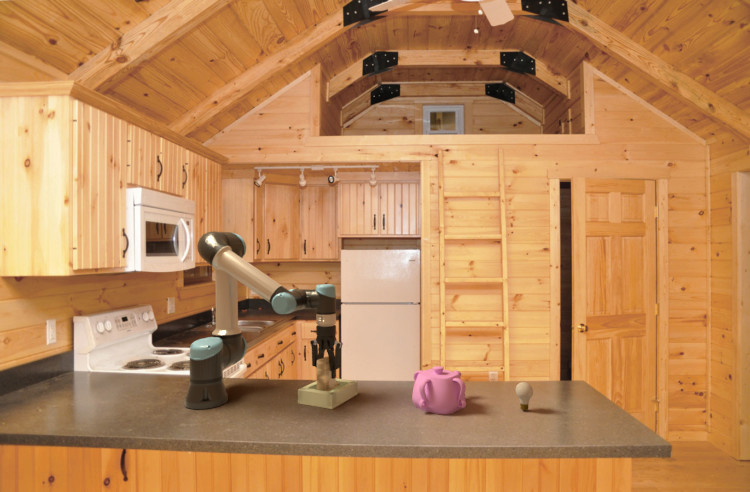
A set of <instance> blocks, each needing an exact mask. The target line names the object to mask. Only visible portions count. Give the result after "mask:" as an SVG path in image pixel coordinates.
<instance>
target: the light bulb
mask: <svg viewBox="0 0 750 492" xmlns="http://www.w3.org/2000/svg"><path fill="white" fill-rule="evenodd" d="M515 394H516V396H517V397H518V399H519V404H520V410H522V411H523V412H526V411H528V410H529V404H530V400H531V398H532V397H533V395H534V389H533V387H532V385H531V384H530V383H528V382H525V381H521V382H519V383H517V385H516V386H515Z"/></svg>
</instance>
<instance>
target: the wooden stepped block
mask: <svg viewBox="0 0 750 492" xmlns="http://www.w3.org/2000/svg"><path fill="white" fill-rule="evenodd" d="M330 369H331V368H330V363H329V357H328V355H327V356H324V358H321V359H319V360H317V368H316V381H317V390H322V391H328V392H330V391H332V390H334V389H336V388H337V387H339V386H340V382H336V378H337V377H336V378H334V387H332V388H329V370H330Z"/></svg>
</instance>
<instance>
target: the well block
mask: <svg viewBox="0 0 750 492" xmlns="http://www.w3.org/2000/svg"><path fill="white" fill-rule="evenodd" d="M358 381H359V380H357V381H356V380H351V379H344V378H337V377H336V382H340V386H339V387H337V388H336V389H334V390H332V391H330V392H328V391H322V390H317V380H315V381H314V382H311V383H310V384H307V385H305V386H302V387H301V388H299V389H297V404H301V405H306V406H312V407H318V408H324V409H328V410H333V409H335V408H337V407H339V406H340V405H342V404H344V403H345V402H347V401H348V400H350V399H352V398H354V397H355V396H357V395H358V393H359V391H358V389H359V385H358Z"/></svg>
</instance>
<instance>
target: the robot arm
mask: <svg viewBox="0 0 750 492" xmlns="http://www.w3.org/2000/svg"><path fill="white" fill-rule="evenodd" d="M196 247H197V248H196V249H197V252H198V254H199V256H200V257H201V258H202V259H203V260H204V262H206V263H208V264H209V265H210V266H211V267H212V268H213V269H214V271H215V272H214V273H215V277H214V278H215V329H214V330H213V331H212V332H211V336H208V337H204V338H199V339H197V340H194V341H193V342H192V343H191V344H190V345H189V346H190V347H189V353H188V357H189V385H188V389H187V392H186V396H185V397H184V406H185V408H188V409H191V410H205V409H206V410H207V409H213V408H217V407H219V406H220V407H221V406H222V405H225V404H226V403H227V402H228V401H229V399H228V397H229V396H228V392H227V390H226V386H225V384H224V380H223V379H224V378H223V375H224V374H223V373H224V368H227V367H229V366H232V365H235V364H237V363H238V362H240V361H241V360H242V359H243V358H244V357H245V355H246V354H247V350H248V343H247V340H246V339H245V338H244V336H243V332H242V329H240V327H239V315H238V314H239V309H238V308H239V306H238V305H239V302H238V300H239V299H238V298H239V297H238V296H239V294H238V289H239V286H238V282H239V283H240V284H242V285H244V286H245V287H246V288H247V289H250V290H251V291H252V292H254V294H257V295H258V296H259V297H260V298H262V299H263V300H265V301H267V302H268V303H269V304H271V307H272V309H273V311H274V312H275V313H276V314H279V315H289V314H291V313H294V312H297V311H300V310H304V309H305V310H310V309H311V310H315V315H316V317H315V319H316V327H315V328H316V329H315V333H316V334H315V335H316V338H315V339H313V340H312V339H311V340H310V342H309V343H310V347H311V365H312V367H315V368H316V369H317V360H319V359H321V358H324V357H325V352H326V353H327V356H328V357H329V363H330V368H331V369H330V370H329V388H332V387H334V378H337V370H338V369H340V368H341V367H342V347H343V342H342V341H341V342H340V341H338V340H337V338H336V336H337V311H336V310H337V309H336V308H337V295H336V294H337V292H336V291H337V290H336V286H335V284H331V283H323V284H316V286H315V289H306V288H304V289H303V288H302V289H301V288H293V289H292V288H291V289H287V288H286V287H285V286H283V285H281V284H280V283H278V282H277V281H276V280H274V279H273V278H271V277H270V276H269V275H267V274H266V273H264V272H263V271H261V270H260V269H258V268H257V267H256V266H254V265H252V264H251V263H250V262H249V261H247V260H245V259H244V257H245V255H246V252H247V245H246V242H245V240H244V238H243V237H242V236H241V235H240V234H238V233H234V232H229V231H226V232H225V231H216V230H215V231H208V232H205V233H203V235H202V236H200V238H199V239H198V241H197V245H196Z"/></svg>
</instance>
